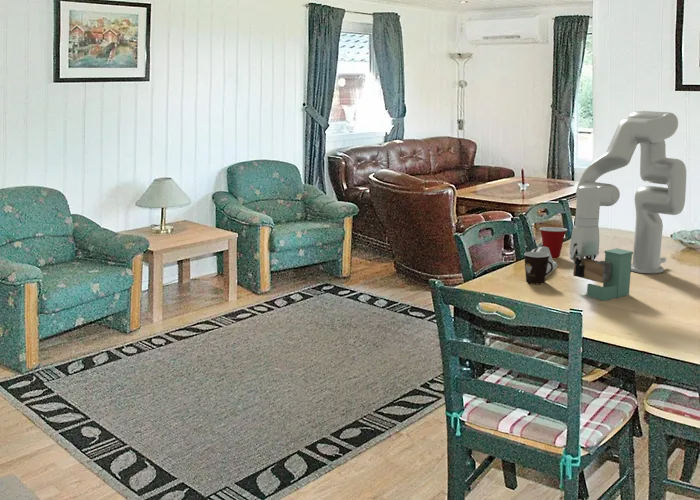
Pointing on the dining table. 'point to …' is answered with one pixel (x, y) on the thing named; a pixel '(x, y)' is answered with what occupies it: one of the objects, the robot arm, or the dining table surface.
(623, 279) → the headboard post
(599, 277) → the brown wooden block
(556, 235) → the plastic cup
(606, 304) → the dining table surface
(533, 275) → the coffee mug
